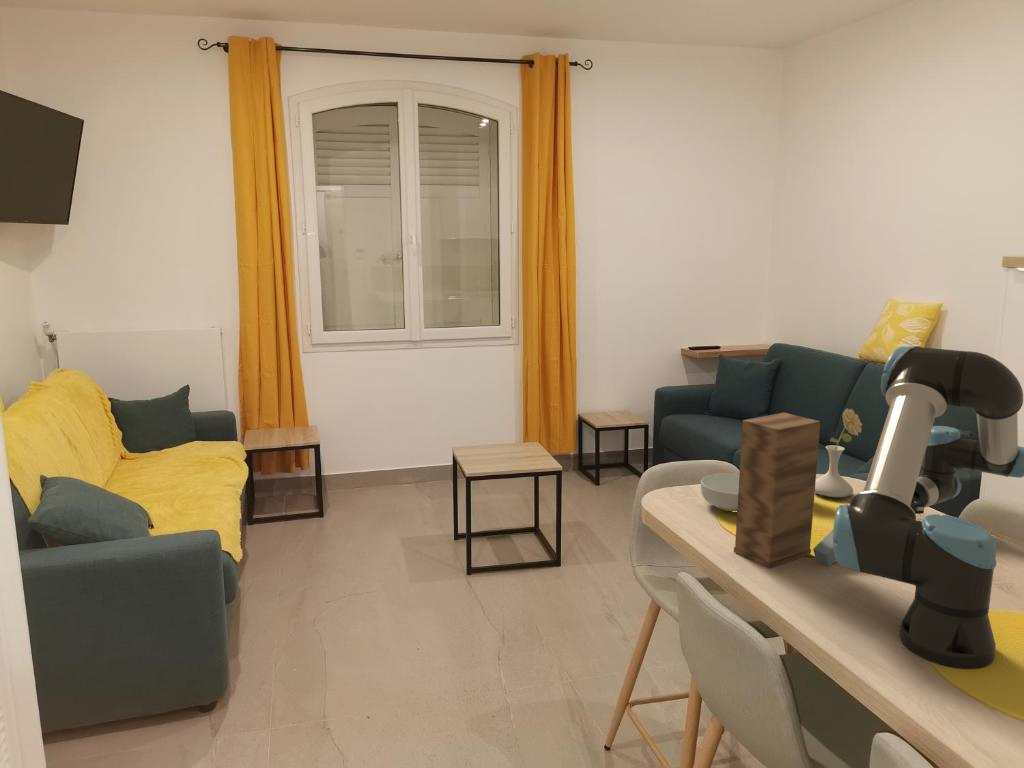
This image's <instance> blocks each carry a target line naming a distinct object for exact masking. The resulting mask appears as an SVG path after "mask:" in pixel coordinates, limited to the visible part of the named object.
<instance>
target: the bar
mask: <svg viewBox="0 0 1024 768" xmlns="http://www.w3.org/2000/svg"><path fill="white" fill-rule="evenodd" d="M812 550H813V553H814V554H813V555H814V558H815V560H816V561H817V562H819V563H821V564H824V565H826V566H828V567H830V566H832V565H833V563H834V562H836V559H835V556H834V550H833V529H831V531H829V533H828V534H827V535H826V536H825V537H824V538H823V539H822V540H821V541H820V542H818V544H817V545H816V546H815V547H814V548H813V549H812Z"/></svg>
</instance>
